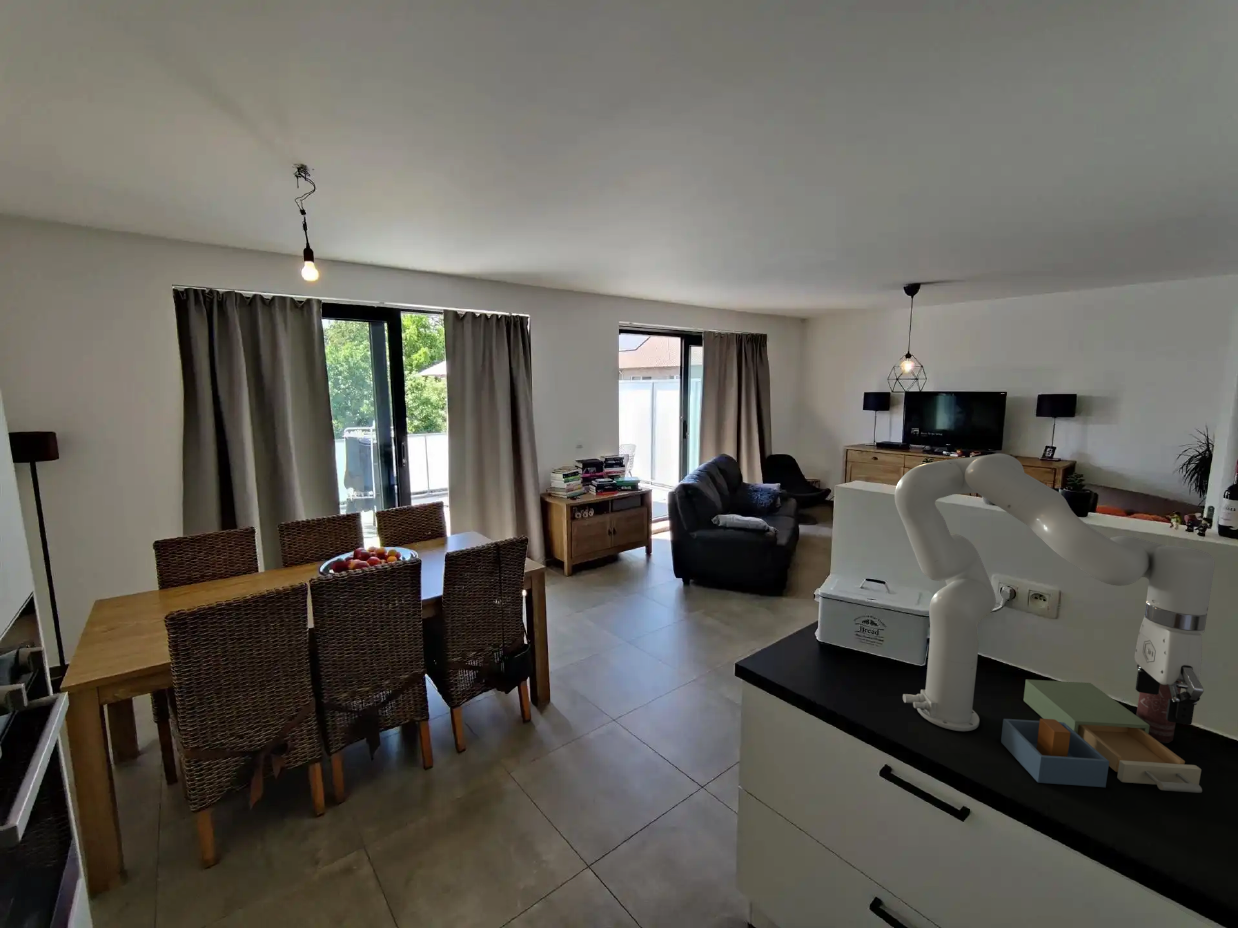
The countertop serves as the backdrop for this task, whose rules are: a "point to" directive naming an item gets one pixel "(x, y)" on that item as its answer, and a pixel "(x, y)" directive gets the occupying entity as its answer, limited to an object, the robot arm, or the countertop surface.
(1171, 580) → the robot arm
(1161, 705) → the can
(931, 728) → the countertop surface
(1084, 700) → the cabinet
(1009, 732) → the bin
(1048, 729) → the orange brown brick
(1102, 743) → the drawer
